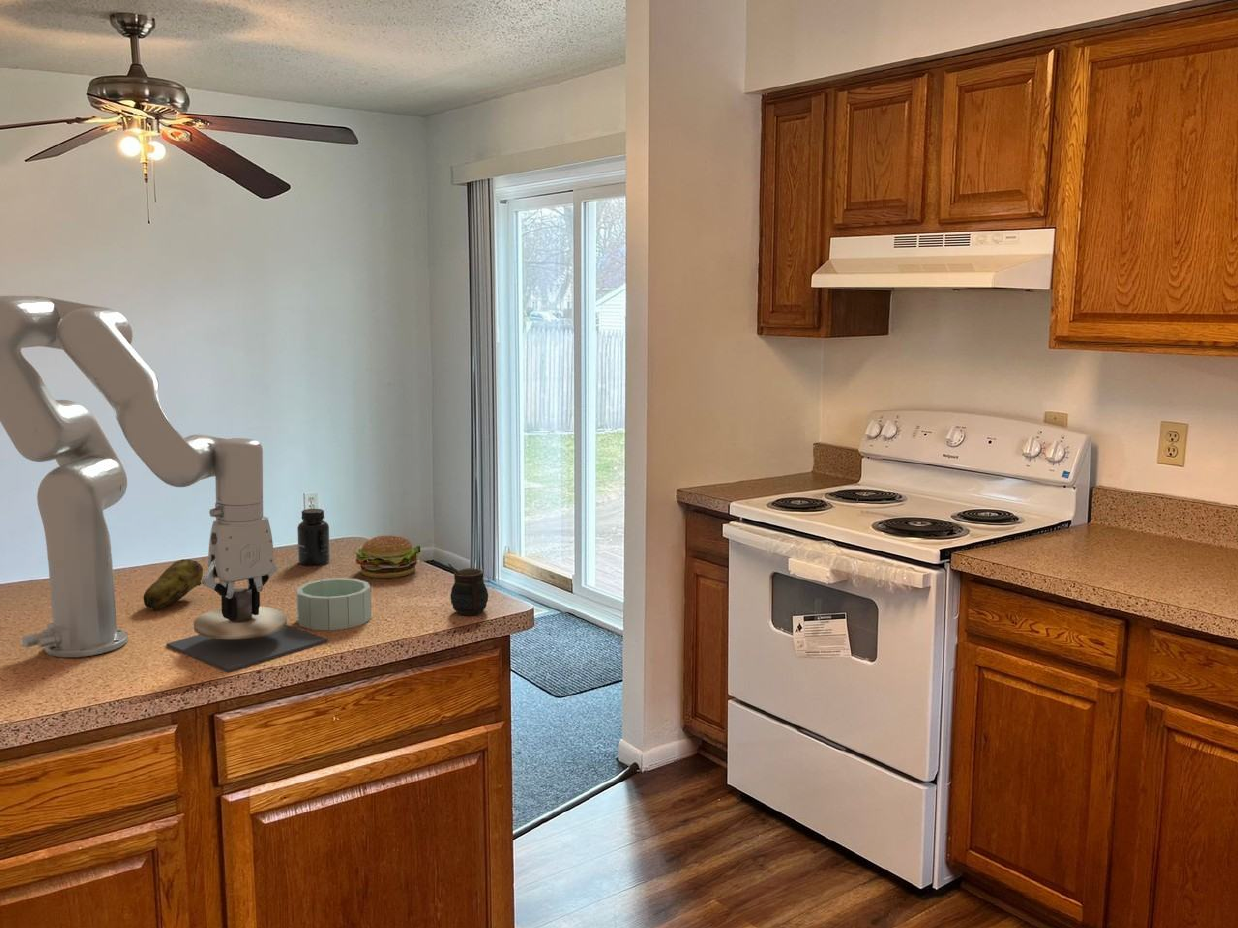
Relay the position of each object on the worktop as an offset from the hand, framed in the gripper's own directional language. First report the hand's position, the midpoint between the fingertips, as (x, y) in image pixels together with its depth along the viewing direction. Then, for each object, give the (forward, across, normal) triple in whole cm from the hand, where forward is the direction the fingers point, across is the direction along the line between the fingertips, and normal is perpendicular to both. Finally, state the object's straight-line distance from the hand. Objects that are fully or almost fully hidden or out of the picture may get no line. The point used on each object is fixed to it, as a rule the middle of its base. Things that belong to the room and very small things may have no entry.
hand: (241, 614), depth 175 cm
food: (+5, +46, +17) cm, 49 cm away
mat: (+5, +1, -1) cm, 5 cm away
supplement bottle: (+5, +41, +36) cm, 55 cm away
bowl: (+5, +19, -1) cm, 19 cm away
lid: (+2, 0, 0) cm, 2 cm away
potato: (+6, +5, +31) cm, 32 cm away
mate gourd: (+4, +38, -17) cm, 41 cm away
